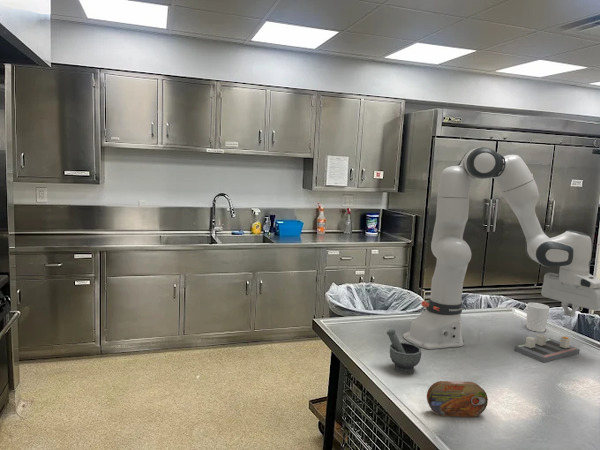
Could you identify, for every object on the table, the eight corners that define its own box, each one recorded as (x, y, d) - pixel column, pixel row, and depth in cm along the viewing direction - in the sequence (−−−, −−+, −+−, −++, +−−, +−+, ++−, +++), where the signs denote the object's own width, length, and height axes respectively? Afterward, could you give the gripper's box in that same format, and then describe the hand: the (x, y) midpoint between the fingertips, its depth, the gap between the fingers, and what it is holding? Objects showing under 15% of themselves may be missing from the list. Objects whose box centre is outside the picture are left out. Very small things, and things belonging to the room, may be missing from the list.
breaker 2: (541, 345, 160) (542, 337, 160) (535, 343, 162) (536, 335, 162) (545, 344, 161) (546, 336, 161) (540, 342, 163) (541, 334, 163)
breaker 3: (565, 348, 159) (566, 338, 158) (559, 346, 161) (560, 336, 160) (569, 347, 160) (570, 337, 160) (563, 345, 162) (564, 335, 161)
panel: (544, 362, 150) (544, 358, 150) (514, 350, 160) (515, 346, 160) (578, 353, 160) (579, 348, 160) (549, 342, 169) (549, 338, 169)
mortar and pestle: (423, 368, 142) (426, 331, 140) (415, 379, 134) (418, 340, 132) (389, 359, 148) (392, 324, 146) (379, 369, 140) (381, 332, 138)
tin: (427, 415, 114) (430, 384, 113) (424, 409, 117) (426, 378, 116) (486, 418, 114) (489, 386, 113) (481, 411, 117) (484, 380, 116)
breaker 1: (530, 348, 157) (531, 339, 157) (525, 346, 159) (526, 337, 159) (534, 347, 159) (535, 338, 158) (529, 345, 160) (530, 336, 160)
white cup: (541, 326, 187) (544, 303, 186) (550, 333, 179) (552, 309, 178) (521, 325, 188) (524, 302, 187) (529, 331, 180) (532, 307, 179)
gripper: (539, 271, 165) (535, 308, 166) (599, 285, 147) (594, 325, 149) (550, 270, 168) (546, 306, 169) (609, 283, 150) (604, 323, 152)
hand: (569, 315), depth 159 cm, fingers closed
